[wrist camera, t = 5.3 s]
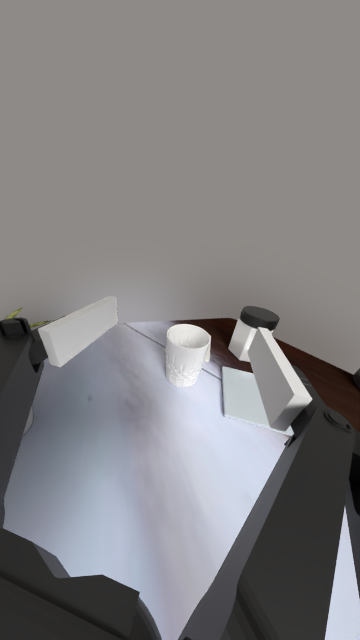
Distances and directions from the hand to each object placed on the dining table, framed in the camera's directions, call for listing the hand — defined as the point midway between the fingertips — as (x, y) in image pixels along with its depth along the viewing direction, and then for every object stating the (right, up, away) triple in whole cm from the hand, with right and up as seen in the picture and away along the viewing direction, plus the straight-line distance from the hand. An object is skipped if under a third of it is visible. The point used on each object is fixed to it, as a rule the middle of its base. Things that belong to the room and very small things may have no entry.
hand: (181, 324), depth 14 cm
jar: (+18, -9, +27) cm, 33 cm away
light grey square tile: (+14, -14, +15) cm, 25 cm away
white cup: (0, -11, +18) cm, 21 cm away
